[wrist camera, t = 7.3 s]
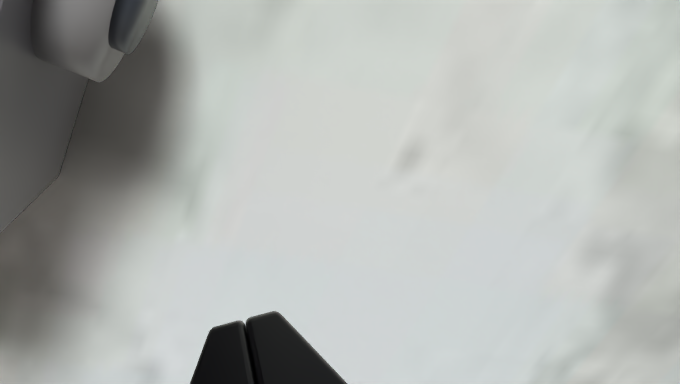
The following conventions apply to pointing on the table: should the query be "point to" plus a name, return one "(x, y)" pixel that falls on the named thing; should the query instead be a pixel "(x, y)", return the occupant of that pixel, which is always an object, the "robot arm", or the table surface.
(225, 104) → the table surface
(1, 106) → the block
